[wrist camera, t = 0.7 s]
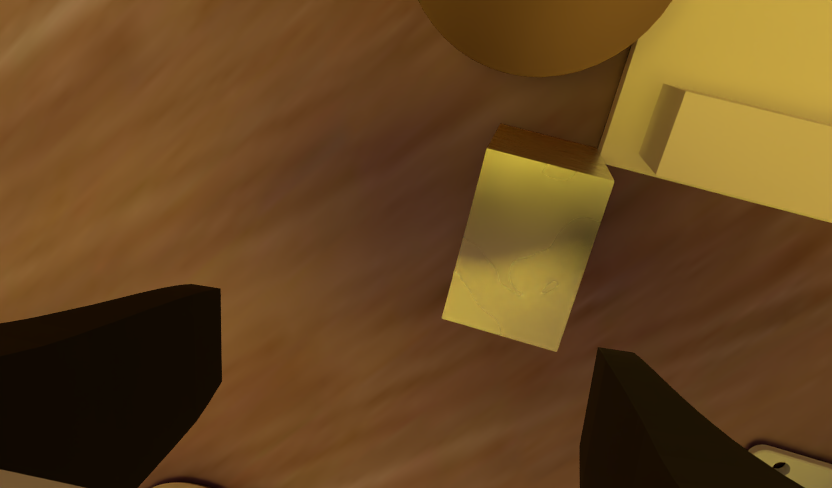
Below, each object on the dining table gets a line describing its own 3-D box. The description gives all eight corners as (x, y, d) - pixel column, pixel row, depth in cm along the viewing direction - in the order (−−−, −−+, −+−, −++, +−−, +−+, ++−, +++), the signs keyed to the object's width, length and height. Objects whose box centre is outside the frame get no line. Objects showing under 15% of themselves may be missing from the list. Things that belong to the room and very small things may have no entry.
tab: (597, 147, 19) (614, 181, 15) (553, 282, 21) (556, 352, 16) (500, 123, 20) (486, 148, 15) (464, 257, 21) (441, 318, 16)
